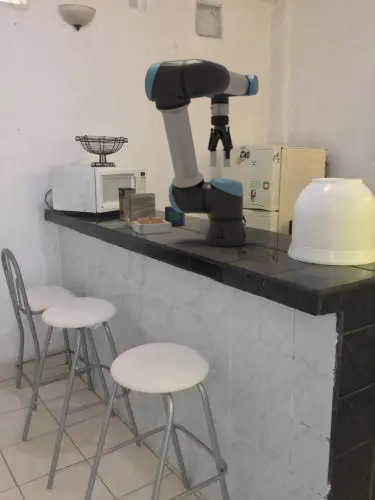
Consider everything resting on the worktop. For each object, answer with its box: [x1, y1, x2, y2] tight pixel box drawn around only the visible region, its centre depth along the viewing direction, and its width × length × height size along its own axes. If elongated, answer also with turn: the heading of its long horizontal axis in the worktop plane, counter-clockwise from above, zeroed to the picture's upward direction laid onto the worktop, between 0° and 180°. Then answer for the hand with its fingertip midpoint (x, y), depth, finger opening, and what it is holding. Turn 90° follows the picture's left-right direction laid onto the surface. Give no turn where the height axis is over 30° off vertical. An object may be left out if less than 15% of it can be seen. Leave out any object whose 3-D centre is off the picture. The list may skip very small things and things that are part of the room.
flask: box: [164, 204, 186, 227], centre depth 212 cm, size 9×3×11 cm, turn 87°
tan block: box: [129, 192, 157, 222], centre depth 209 cm, size 4×11×12 cm, turn 111°
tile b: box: [138, 218, 150, 225], centre depth 197 cm, size 5×4×3 cm
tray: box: [132, 219, 173, 236], centre depth 196 cm, size 12×14×4 cm
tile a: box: [151, 216, 164, 224], centre depth 199 cm, size 5×4×3 cm
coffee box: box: [117, 187, 137, 222], centre depth 233 cm, size 9×6×16 cm
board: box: [124, 218, 151, 229], centre depth 211 cm, size 20×11×3 cm, turn 21°
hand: (219, 167), depth 197 cm, fingers open, 13 cm apart
